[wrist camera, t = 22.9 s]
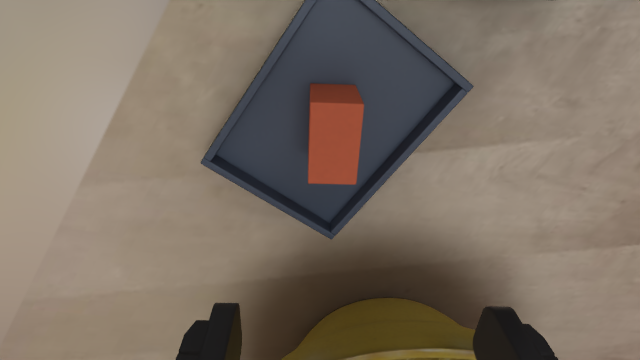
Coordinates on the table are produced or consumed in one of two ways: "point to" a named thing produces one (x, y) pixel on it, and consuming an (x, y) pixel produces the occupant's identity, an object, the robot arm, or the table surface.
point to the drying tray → (334, 68)
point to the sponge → (334, 133)
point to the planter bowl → (386, 334)
